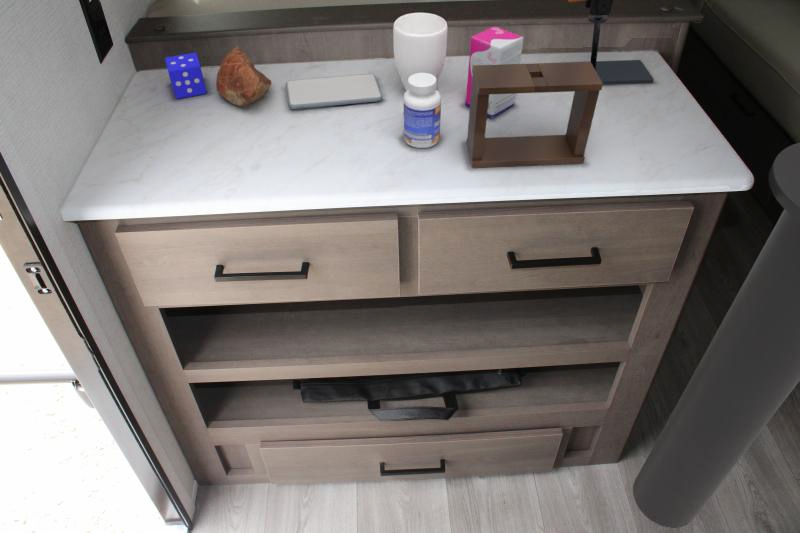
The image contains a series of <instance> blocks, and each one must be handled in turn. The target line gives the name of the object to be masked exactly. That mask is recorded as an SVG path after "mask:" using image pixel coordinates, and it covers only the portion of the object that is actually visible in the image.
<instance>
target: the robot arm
mask: <svg viewBox="0 0 800 533" xmlns="http://www.w3.org/2000/svg"><path fill="white" fill-rule="evenodd" d="M613 3H614V0H585V1H584V7H585V8H586V9H589V12H588V13H589V15H592V16H595V15H608V16H610V14H611V11H612V8H613Z"/></svg>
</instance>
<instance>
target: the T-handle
mask: <svg viewBox="0 0 800 533" xmlns="http://www.w3.org/2000/svg"><path fill="white" fill-rule="evenodd" d="M567 2H568V3H577V2H585V0H567ZM587 19H588V22H590V23H593V32H592V33H593V34H592V43H591V51H590V60H589V62H591V64H592V65H593V67H594V69H596V61H597V60H598V52H599V51H598V50H599V43H600V33H601V27H602V26H601V25H602V24H603V23H606V22H607V21H608V20H609V15H595V16H592V15H590V14H589V15H588V18H587Z"/></svg>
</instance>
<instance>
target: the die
mask: <svg viewBox="0 0 800 533" xmlns="http://www.w3.org/2000/svg"><path fill="white" fill-rule="evenodd" d="M164 60H165V64H166V68H167V72H168V75H169V80H170V83H171V87H172V90H173V93H174V97H175V99H176V100H180V99H186V98H191V97H195V96H196V97H198V96H202V95H206V94H207V93H208V91H207V88H206V82H205V80H204V75H203V71H202V67H201V63H200V60H199V57H198V54H197V53H196V52H189V53H185V54H184V53H183V54H179V55H172V56H166V57H165V58H164Z"/></svg>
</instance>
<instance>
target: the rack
mask: <svg viewBox="0 0 800 533" xmlns="http://www.w3.org/2000/svg"><path fill="white" fill-rule="evenodd" d="M472 73H473V76H472V88H471V100H470V108H469V111H468V112H469V113H468V124H467V125H468V126H467V138H466V143H465V144H466V149H467V153H468V158H469V162H470V165H471V166H470V167H471V169H481V168H482V169H483V168H503V167H504V168H509V167H532V166H533V167H534V166H557V165H582V164H584V163H585V159H586V157H585V153H586V148H587V144H588V140H589V135H590V132H591V128H592V124H593V119H594V115H595V111H596V108H597V102H598V100H599V94H600V92H601V91H602V89H603V85H604V84H603V83H602V81H601V79H600V78H599V76H598V74H597V72H596V71H595V69H594V67H593V65H592V64H591V62H590V61H566V62H563V61H562V62H538V63H537V62H536V63H535V62H534V63H520V64H502V65H473V67H472ZM565 92H566V93H567V92H570V93H571V92H574V93H573V98H572V103H571V108H570V112H569V117H568V123H567V126H566V131H565V134H549V135H522V136H521V135H519V136H498V137H494V136H493V137H486V131H487V130H486V128H487V122H488V121H487V119H488V116H487V111H488V102H489V94H516V95H517V94H538V93H539V94H540V93H541V94H543V93H565Z"/></svg>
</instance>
